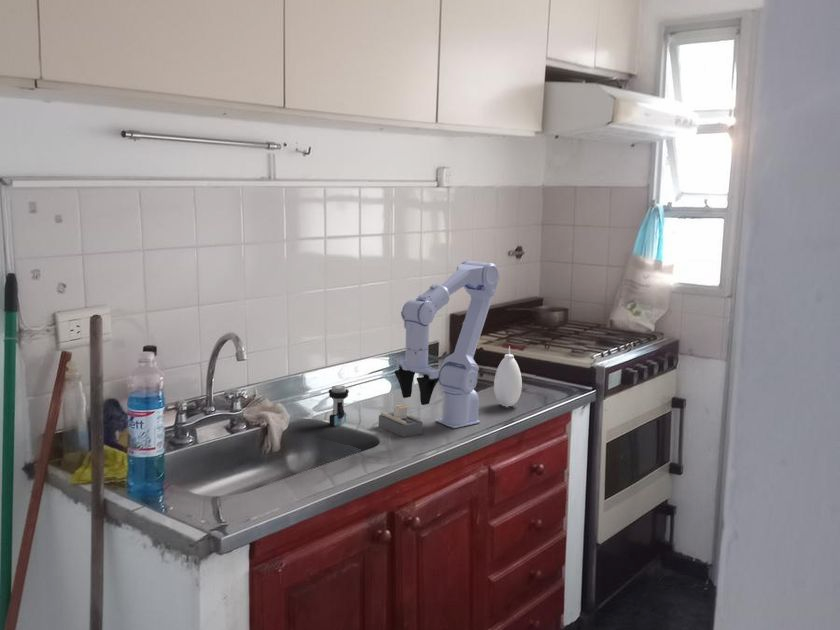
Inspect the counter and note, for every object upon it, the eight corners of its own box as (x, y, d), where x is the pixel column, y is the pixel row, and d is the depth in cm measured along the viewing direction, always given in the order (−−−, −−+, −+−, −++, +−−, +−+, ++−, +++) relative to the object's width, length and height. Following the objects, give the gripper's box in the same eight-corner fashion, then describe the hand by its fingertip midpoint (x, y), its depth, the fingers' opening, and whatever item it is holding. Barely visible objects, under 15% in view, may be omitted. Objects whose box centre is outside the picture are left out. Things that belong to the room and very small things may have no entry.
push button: (339, 418, 221) (339, 382, 219) (355, 421, 218) (355, 385, 217) (324, 424, 215) (324, 387, 214) (340, 427, 213) (341, 390, 211)
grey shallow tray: (397, 422, 218) (397, 408, 218) (422, 433, 210) (422, 418, 209) (378, 426, 215) (378, 411, 214) (403, 437, 206) (404, 422, 206)
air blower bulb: (525, 408, 235) (528, 347, 232) (504, 411, 231) (506, 349, 228) (509, 401, 242) (512, 342, 239) (488, 404, 238) (490, 344, 235)
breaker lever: (401, 415, 214) (401, 403, 213) (407, 417, 212) (407, 406, 211) (393, 417, 212) (394, 405, 211) (399, 419, 210) (399, 407, 210)
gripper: (387, 344, 207) (386, 396, 209) (422, 355, 195) (420, 410, 198) (409, 341, 211) (408, 392, 213) (444, 352, 200) (443, 405, 202)
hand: (415, 400), depth 206 cm, fingers open, 7 cm apart
